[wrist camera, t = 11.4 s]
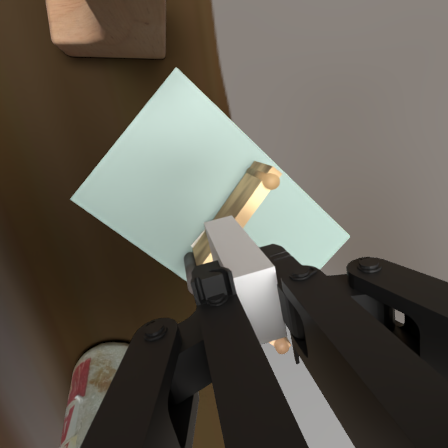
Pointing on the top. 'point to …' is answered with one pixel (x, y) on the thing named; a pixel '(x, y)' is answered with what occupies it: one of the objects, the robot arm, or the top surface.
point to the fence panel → (242, 202)
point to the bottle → (89, 389)
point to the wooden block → (109, 28)
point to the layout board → (196, 183)
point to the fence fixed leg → (189, 262)
